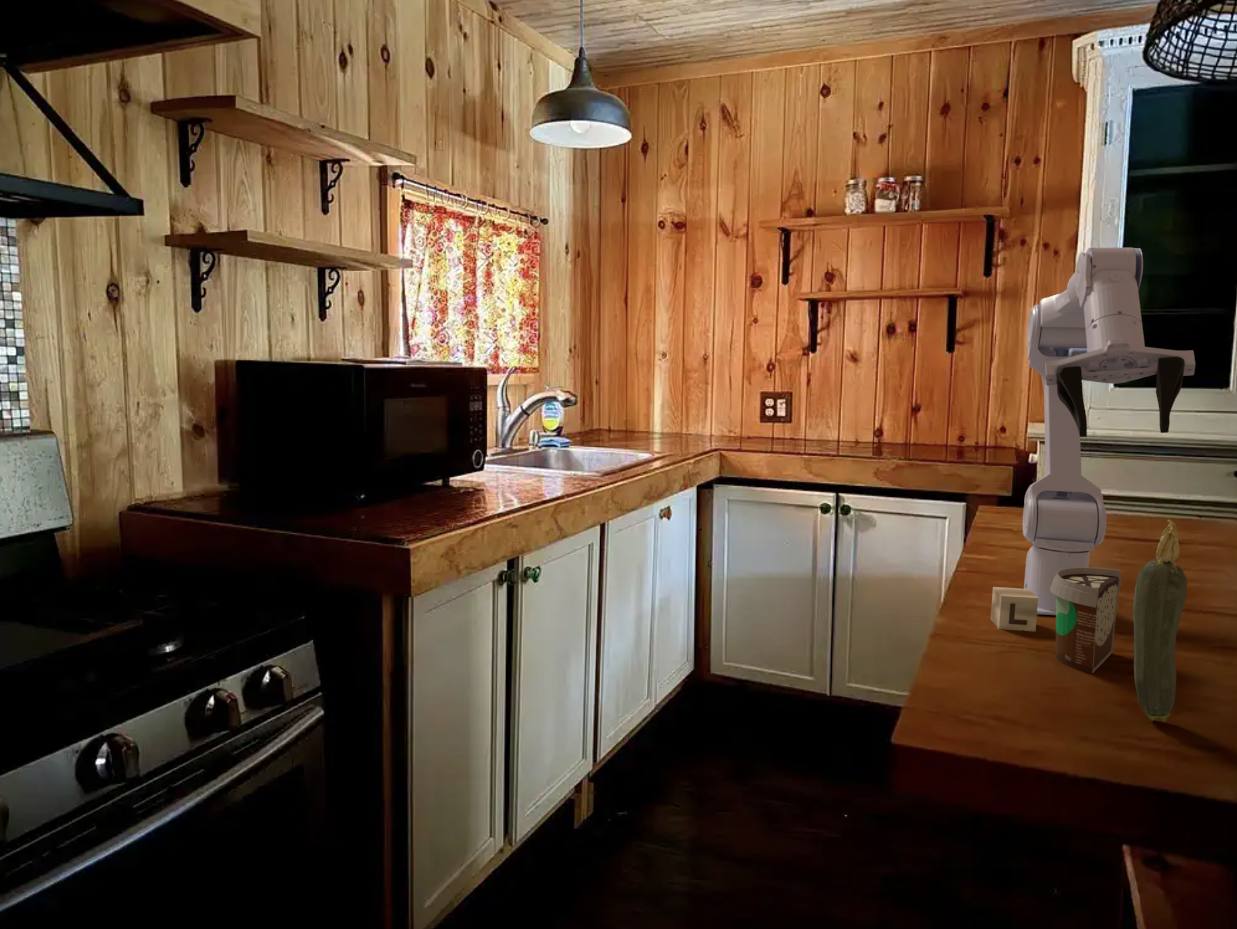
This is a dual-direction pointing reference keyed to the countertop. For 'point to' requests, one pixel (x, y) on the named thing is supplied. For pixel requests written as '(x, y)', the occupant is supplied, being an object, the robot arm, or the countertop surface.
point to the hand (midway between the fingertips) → (1123, 429)
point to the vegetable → (1158, 626)
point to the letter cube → (1014, 609)
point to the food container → (1085, 615)
